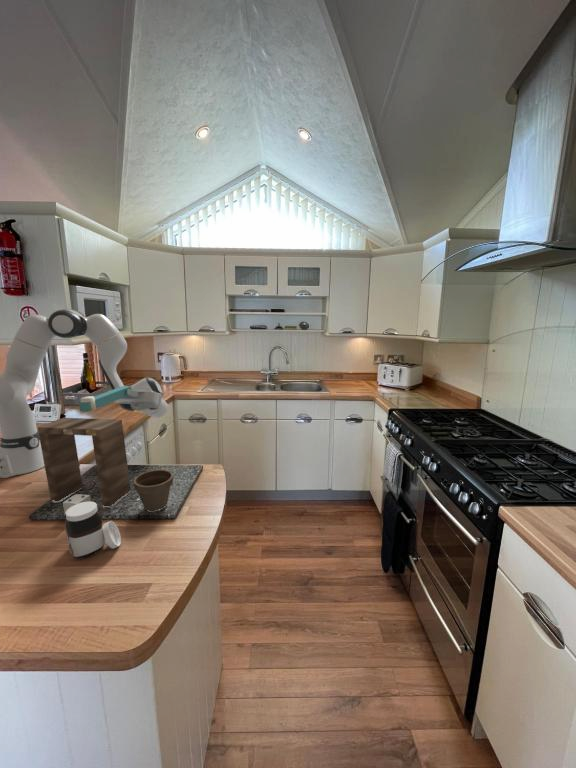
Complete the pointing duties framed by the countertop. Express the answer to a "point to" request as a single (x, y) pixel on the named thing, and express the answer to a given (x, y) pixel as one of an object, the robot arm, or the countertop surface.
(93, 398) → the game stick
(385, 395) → the countertop surface
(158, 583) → the countertop surface
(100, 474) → the walnut shelf
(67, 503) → the ivory die
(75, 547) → the spread jar
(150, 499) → the flower pot
